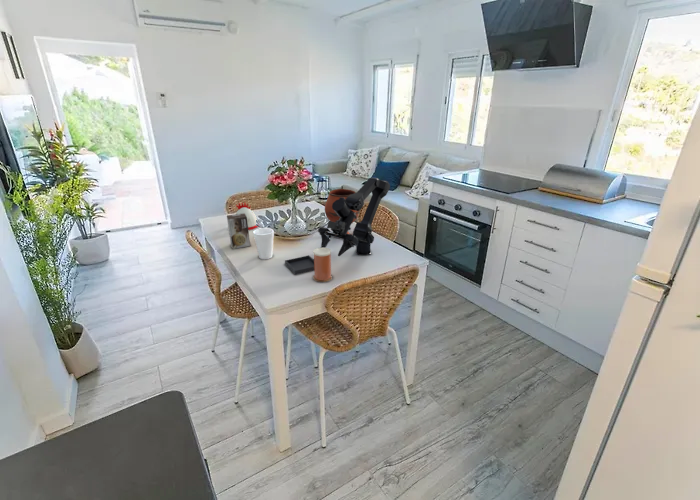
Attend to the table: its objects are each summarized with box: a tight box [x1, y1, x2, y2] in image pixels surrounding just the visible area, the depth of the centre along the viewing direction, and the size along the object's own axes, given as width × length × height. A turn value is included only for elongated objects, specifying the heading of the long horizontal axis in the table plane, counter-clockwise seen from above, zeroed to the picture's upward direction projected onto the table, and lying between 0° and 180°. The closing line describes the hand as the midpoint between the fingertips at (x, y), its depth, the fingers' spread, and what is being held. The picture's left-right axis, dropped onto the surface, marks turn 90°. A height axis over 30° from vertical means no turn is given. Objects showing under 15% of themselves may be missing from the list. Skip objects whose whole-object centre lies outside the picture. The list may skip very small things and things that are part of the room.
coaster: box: [312, 274, 333, 283], centre depth 149 cm, size 8×8×1 cm
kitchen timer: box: [235, 201, 259, 231], centre depth 204 cm, size 14×14×15 cm
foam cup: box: [252, 227, 275, 260], centre depth 166 cm, size 10×9×13 cm
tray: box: [284, 254, 314, 276], centre depth 159 cm, size 12×12×2 cm
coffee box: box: [226, 213, 251, 250], centre depth 177 cm, size 9×6×16 cm
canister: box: [312, 247, 332, 280], centre depth 147 cm, size 7×7×12 cm
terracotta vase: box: [324, 188, 360, 236], centre depth 191 cm, size 19×19×25 cm
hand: (329, 253), depth 150 cm, fingers open, 9 cm apart
